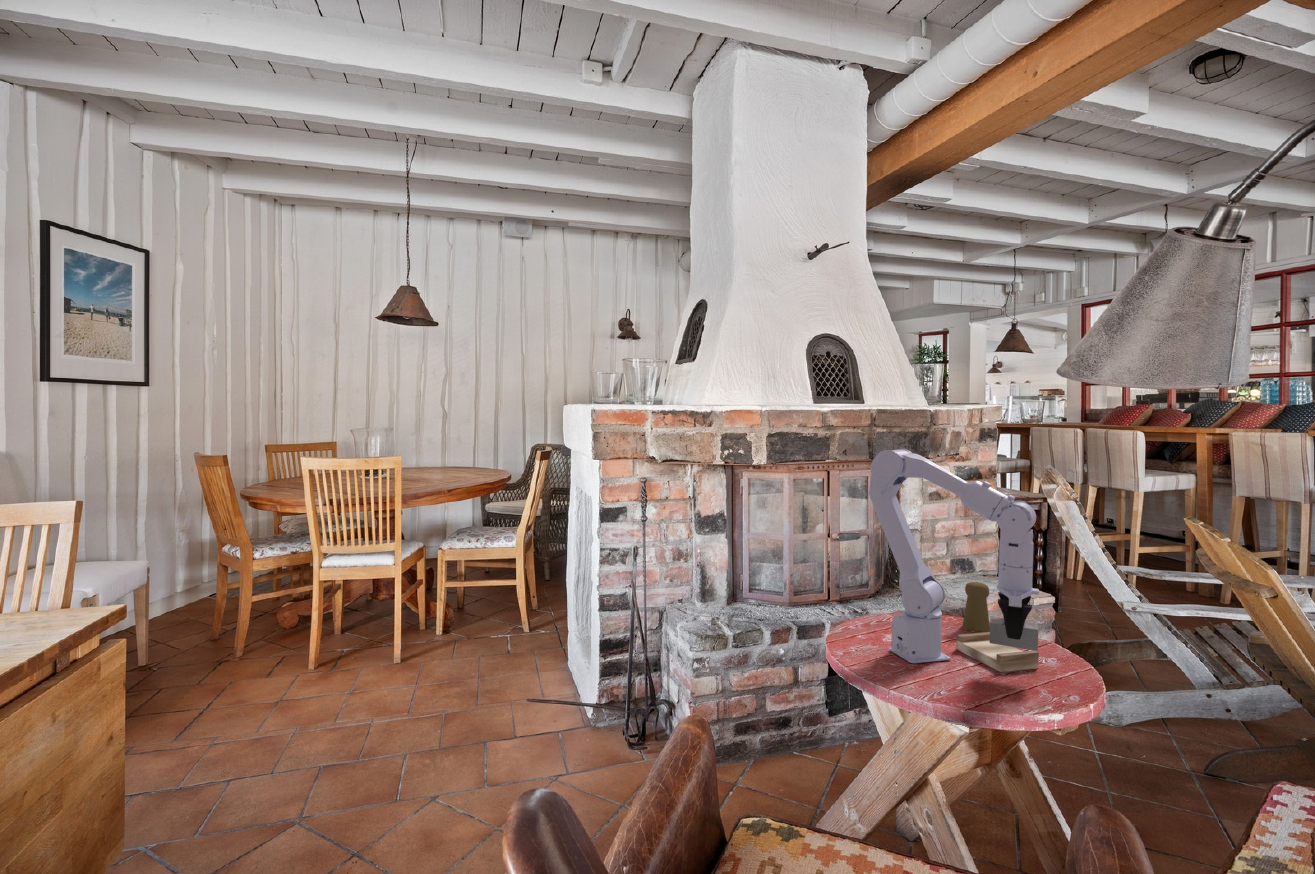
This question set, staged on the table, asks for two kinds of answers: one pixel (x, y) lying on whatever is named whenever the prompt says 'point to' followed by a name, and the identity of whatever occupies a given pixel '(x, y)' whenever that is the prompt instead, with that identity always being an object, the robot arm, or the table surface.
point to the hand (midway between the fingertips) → (1013, 634)
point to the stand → (996, 653)
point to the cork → (976, 608)
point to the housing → (1026, 641)
